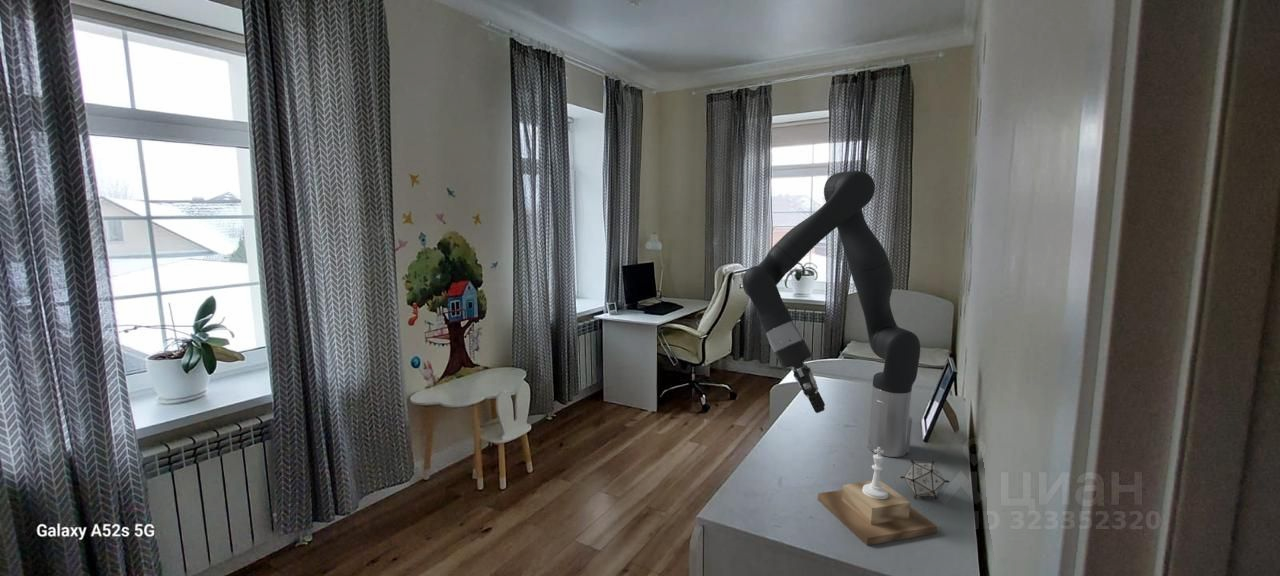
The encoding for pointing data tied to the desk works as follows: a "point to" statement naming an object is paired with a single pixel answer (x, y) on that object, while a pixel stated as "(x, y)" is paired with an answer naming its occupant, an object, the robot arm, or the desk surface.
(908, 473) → the game die
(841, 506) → the walnut base
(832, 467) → the desk surface
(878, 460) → the chess piece
